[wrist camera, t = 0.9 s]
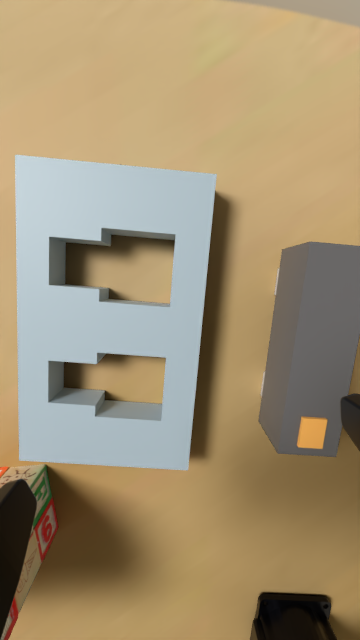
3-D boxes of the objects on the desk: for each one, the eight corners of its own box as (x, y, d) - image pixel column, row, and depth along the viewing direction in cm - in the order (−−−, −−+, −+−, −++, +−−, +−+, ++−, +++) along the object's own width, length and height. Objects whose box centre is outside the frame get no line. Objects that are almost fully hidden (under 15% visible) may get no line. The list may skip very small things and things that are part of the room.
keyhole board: (37, 172, 18) (15, 154, 15) (210, 188, 18) (216, 174, 16) (37, 438, 21) (19, 460, 18) (186, 448, 21) (187, 470, 19)
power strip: (269, 252, 19) (312, 241, 13) (316, 257, 19) (379, 247, 13) (249, 406, 21) (279, 455, 15) (292, 409, 21) (338, 459, 15)
